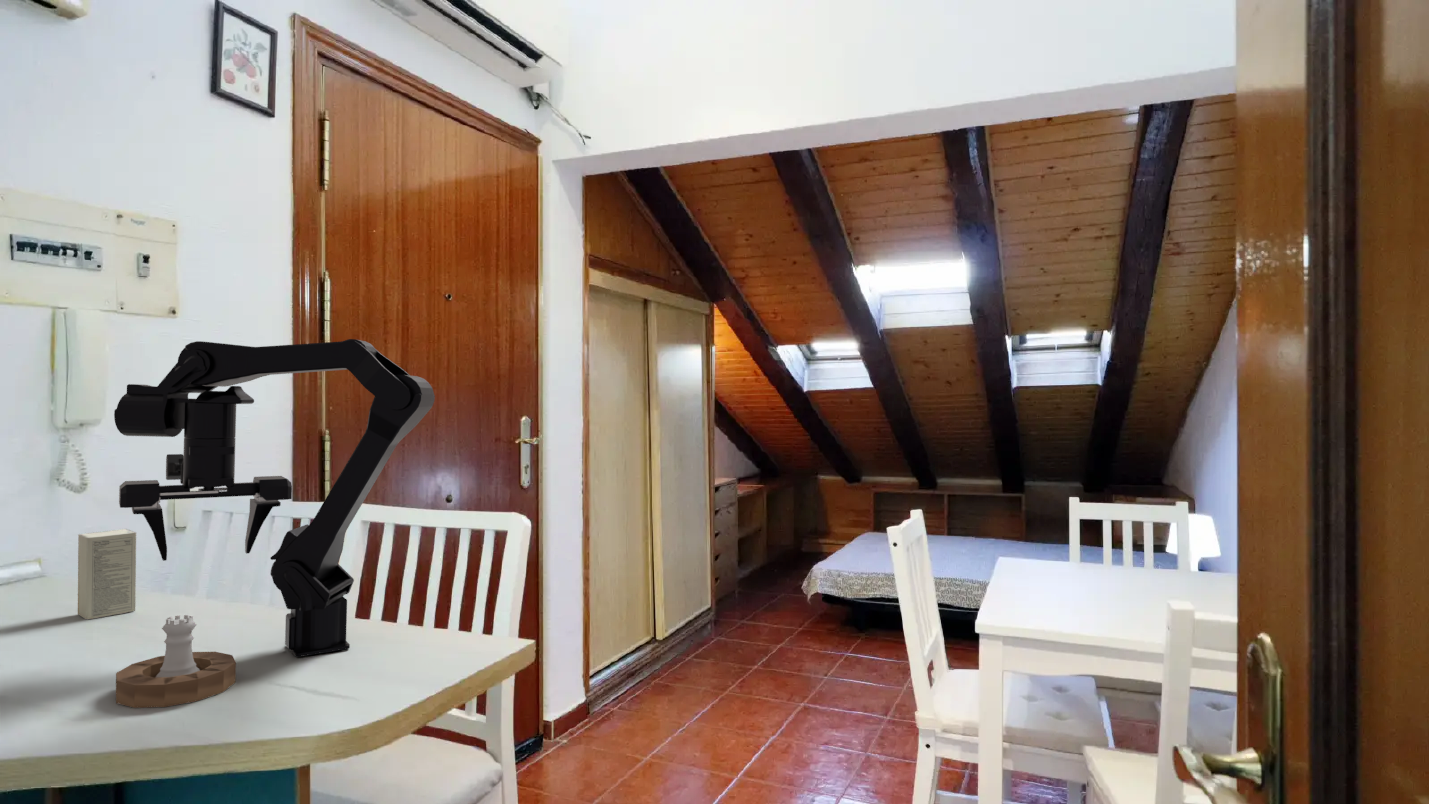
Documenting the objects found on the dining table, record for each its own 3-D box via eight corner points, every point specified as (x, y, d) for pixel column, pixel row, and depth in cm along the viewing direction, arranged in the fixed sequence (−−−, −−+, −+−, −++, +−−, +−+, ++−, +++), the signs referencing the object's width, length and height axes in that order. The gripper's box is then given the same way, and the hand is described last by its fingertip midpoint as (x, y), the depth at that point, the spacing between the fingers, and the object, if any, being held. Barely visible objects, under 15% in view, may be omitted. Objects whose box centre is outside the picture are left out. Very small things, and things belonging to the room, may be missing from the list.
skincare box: (125, 606, 121) (127, 528, 121) (136, 612, 119) (138, 531, 119) (75, 615, 116) (77, 533, 116) (84, 620, 114) (87, 536, 114)
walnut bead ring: (227, 665, 97) (227, 646, 97) (240, 693, 88) (240, 671, 88) (114, 683, 90) (115, 662, 90) (117, 715, 81) (117, 692, 81)
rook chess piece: (176, 697, 86) (178, 624, 86) (143, 693, 87) (145, 621, 87) (210, 683, 91) (212, 614, 91) (179, 679, 92) (180, 611, 92)
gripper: (278, 434, 115) (276, 540, 115) (119, 435, 104) (116, 553, 104) (293, 438, 106) (290, 553, 107) (121, 439, 95) (118, 568, 95)
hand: (207, 556), depth 103 cm, fingers open, 9 cm apart
